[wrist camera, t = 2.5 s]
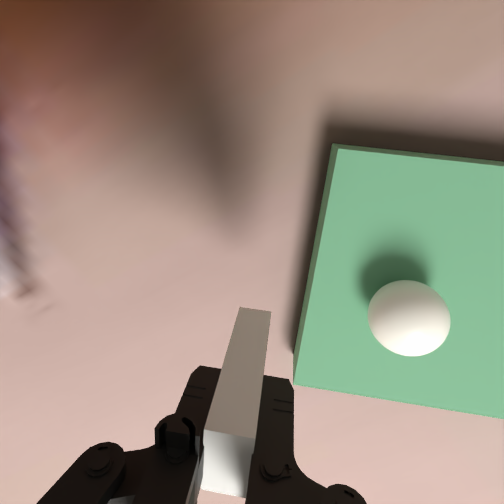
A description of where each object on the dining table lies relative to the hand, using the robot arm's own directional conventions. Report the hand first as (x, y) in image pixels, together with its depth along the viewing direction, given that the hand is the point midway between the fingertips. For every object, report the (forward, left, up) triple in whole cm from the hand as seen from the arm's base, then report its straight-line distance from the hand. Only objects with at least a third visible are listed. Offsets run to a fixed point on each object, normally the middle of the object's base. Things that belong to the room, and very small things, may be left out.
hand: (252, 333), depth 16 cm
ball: (0, +8, -3) cm, 8 cm away
